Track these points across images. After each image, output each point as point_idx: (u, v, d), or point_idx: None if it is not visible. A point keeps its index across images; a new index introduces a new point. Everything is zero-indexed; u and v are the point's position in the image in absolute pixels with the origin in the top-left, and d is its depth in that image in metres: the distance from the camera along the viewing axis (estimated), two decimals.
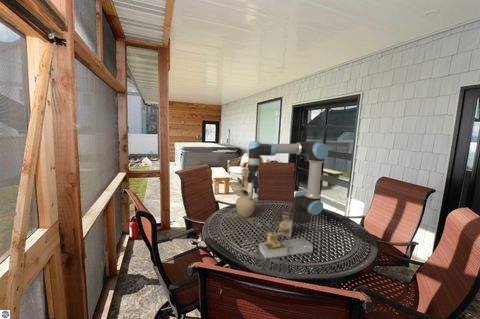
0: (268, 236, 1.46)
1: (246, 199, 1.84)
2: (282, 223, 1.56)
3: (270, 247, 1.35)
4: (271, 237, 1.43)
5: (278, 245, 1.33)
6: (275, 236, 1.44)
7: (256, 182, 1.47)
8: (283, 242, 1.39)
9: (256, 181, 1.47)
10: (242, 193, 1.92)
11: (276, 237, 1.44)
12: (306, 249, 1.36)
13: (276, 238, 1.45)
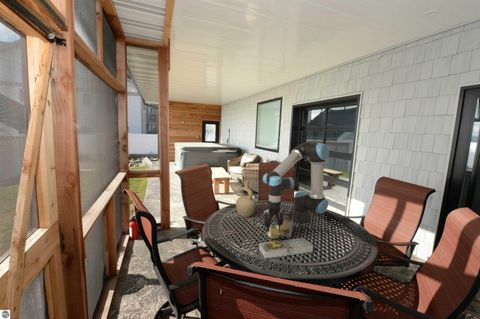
0: None
1: (246, 199, 1.84)
2: None
3: (270, 247, 1.35)
4: (272, 230, 1.43)
5: (278, 245, 1.33)
6: (276, 229, 1.44)
7: (264, 220, 1.43)
8: (283, 242, 1.39)
9: (264, 219, 1.43)
10: (242, 193, 1.92)
11: (277, 230, 1.44)
12: (306, 249, 1.36)
13: (277, 231, 1.44)
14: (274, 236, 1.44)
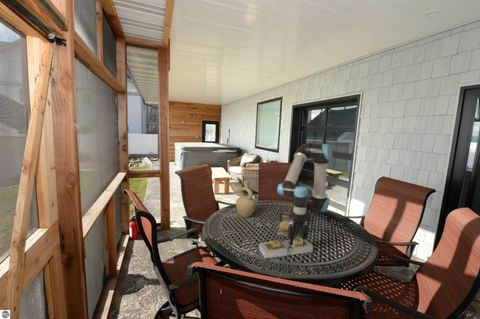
0: None
1: (246, 199, 1.84)
2: (282, 223, 1.56)
3: (270, 247, 1.35)
4: (296, 244, 1.36)
5: (278, 245, 1.33)
6: (300, 242, 1.37)
7: (288, 233, 1.37)
8: (283, 242, 1.39)
9: (288, 232, 1.36)
10: (242, 193, 1.92)
11: (301, 244, 1.37)
12: (306, 249, 1.36)
13: None
14: None
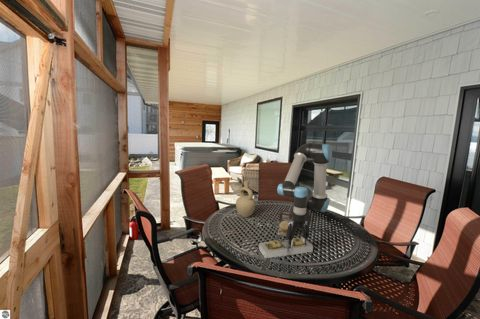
0: None
1: (246, 199, 1.84)
2: (282, 223, 1.56)
3: (270, 247, 1.35)
4: (296, 244, 1.36)
5: (278, 245, 1.33)
6: (300, 243, 1.37)
7: (287, 233, 1.36)
8: (283, 242, 1.39)
9: (287, 232, 1.36)
10: (242, 193, 1.92)
11: (301, 244, 1.37)
12: (306, 249, 1.36)
13: None
14: None
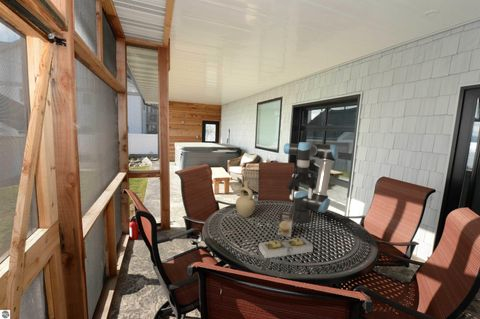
0: (292, 243, 1.39)
1: (246, 199, 1.84)
2: (282, 223, 1.56)
3: (270, 247, 1.35)
4: (296, 244, 1.36)
5: (278, 245, 1.33)
6: (300, 243, 1.37)
7: (289, 183, 1.44)
8: (283, 242, 1.39)
9: (290, 182, 1.43)
10: (242, 193, 1.92)
11: (301, 244, 1.37)
12: (306, 249, 1.36)
13: None
14: None
